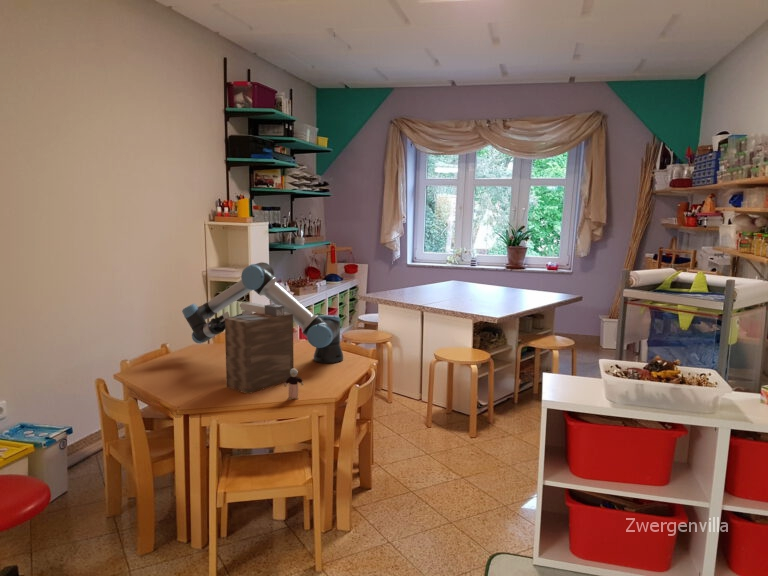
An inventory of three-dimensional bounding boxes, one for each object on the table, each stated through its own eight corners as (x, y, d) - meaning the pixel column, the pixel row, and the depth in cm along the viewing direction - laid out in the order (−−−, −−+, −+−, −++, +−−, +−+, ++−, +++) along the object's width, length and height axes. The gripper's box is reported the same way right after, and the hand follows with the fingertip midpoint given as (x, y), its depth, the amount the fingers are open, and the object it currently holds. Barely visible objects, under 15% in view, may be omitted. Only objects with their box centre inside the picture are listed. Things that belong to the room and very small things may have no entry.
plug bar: (237, 309, 256) (237, 300, 256) (245, 307, 260) (245, 299, 260) (275, 316, 241) (275, 307, 240) (284, 314, 245) (284, 305, 244)
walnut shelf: (226, 386, 240) (224, 318, 236) (272, 373, 260) (271, 309, 256) (247, 393, 232) (246, 322, 227) (293, 379, 252) (293, 313, 248)
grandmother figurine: (286, 401, 223) (285, 370, 221) (283, 398, 227) (283, 368, 225) (304, 398, 226) (304, 368, 224) (302, 396, 230) (301, 366, 228)
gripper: (237, 330, 282) (262, 316, 270) (195, 339, 262) (220, 324, 250) (232, 316, 283) (257, 302, 271) (190, 324, 263) (215, 308, 251)
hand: (240, 312), depth 261 cm, fingers open, 13 cm apart
